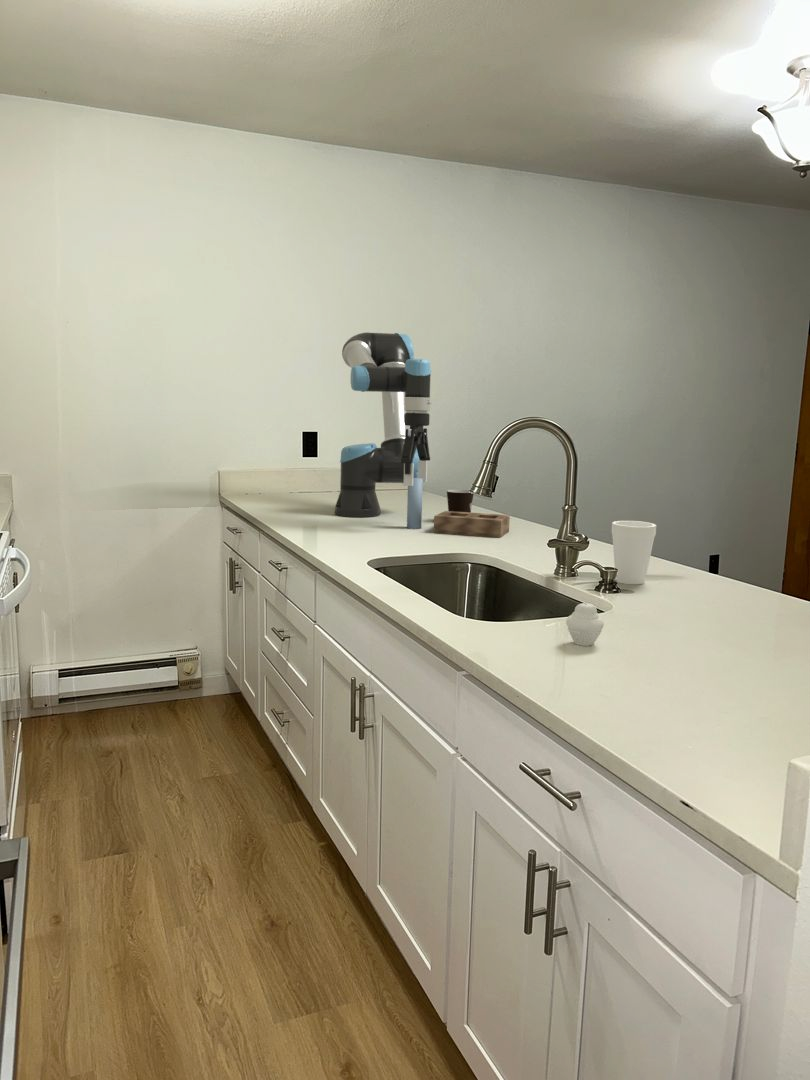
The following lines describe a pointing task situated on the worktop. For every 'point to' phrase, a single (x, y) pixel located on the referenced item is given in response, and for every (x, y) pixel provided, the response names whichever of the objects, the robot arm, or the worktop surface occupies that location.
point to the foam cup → (632, 549)
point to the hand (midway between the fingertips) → (415, 483)
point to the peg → (414, 504)
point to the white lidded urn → (584, 624)
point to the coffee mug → (459, 500)
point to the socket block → (471, 524)
